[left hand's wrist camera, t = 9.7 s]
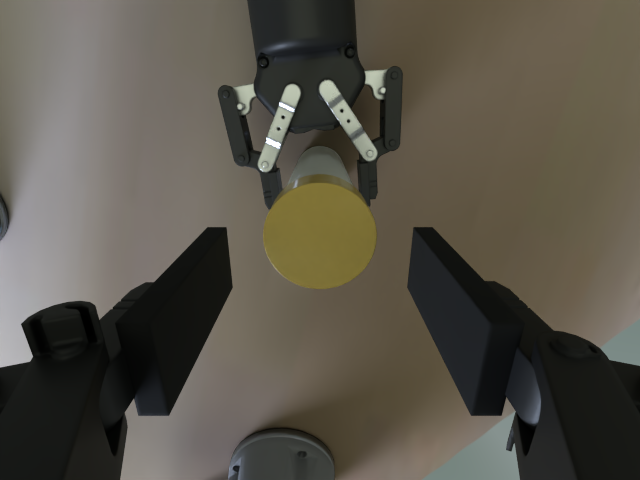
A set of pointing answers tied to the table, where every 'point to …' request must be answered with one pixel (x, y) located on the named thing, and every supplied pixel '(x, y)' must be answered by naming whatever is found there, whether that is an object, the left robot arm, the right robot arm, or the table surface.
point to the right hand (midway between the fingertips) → (322, 208)
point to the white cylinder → (320, 164)
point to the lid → (320, 232)
